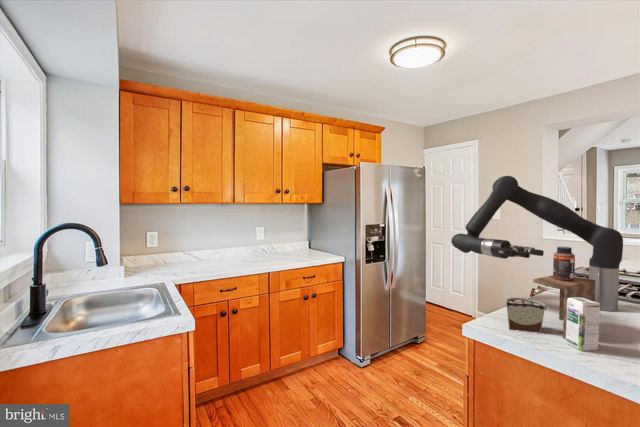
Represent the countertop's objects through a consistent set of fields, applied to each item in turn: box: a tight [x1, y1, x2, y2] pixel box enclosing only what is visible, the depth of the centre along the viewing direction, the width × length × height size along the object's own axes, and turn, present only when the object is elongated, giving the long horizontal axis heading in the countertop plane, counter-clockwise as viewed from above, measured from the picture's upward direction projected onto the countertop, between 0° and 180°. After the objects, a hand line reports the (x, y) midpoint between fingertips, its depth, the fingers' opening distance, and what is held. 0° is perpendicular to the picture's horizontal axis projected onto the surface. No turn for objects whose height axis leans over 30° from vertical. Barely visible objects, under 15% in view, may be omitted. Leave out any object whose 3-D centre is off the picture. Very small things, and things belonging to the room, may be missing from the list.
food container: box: [504, 297, 548, 334], centre depth 111 cm, size 12×6×10 cm, turn 71°
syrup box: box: [565, 297, 601, 352], centre depth 97 cm, size 6×6×14 cm
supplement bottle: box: [552, 246, 576, 281], centre depth 110 cm, size 6×6×11 cm
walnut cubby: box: [532, 274, 596, 340], centre depth 110 cm, size 18×10×17 cm, turn 116°
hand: (536, 254), depth 118 cm, fingers open, 8 cm apart
